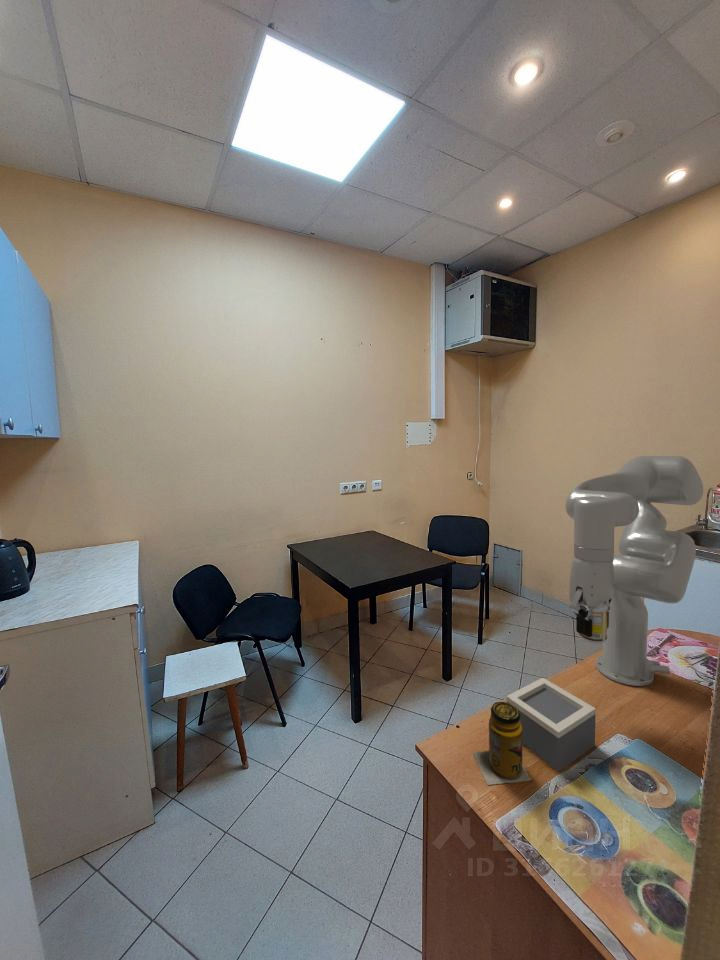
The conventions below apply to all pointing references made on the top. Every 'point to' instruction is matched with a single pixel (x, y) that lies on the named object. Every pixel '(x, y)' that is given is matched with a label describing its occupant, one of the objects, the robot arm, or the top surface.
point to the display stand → (554, 722)
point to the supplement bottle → (597, 624)
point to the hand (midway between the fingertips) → (592, 629)
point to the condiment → (503, 747)
